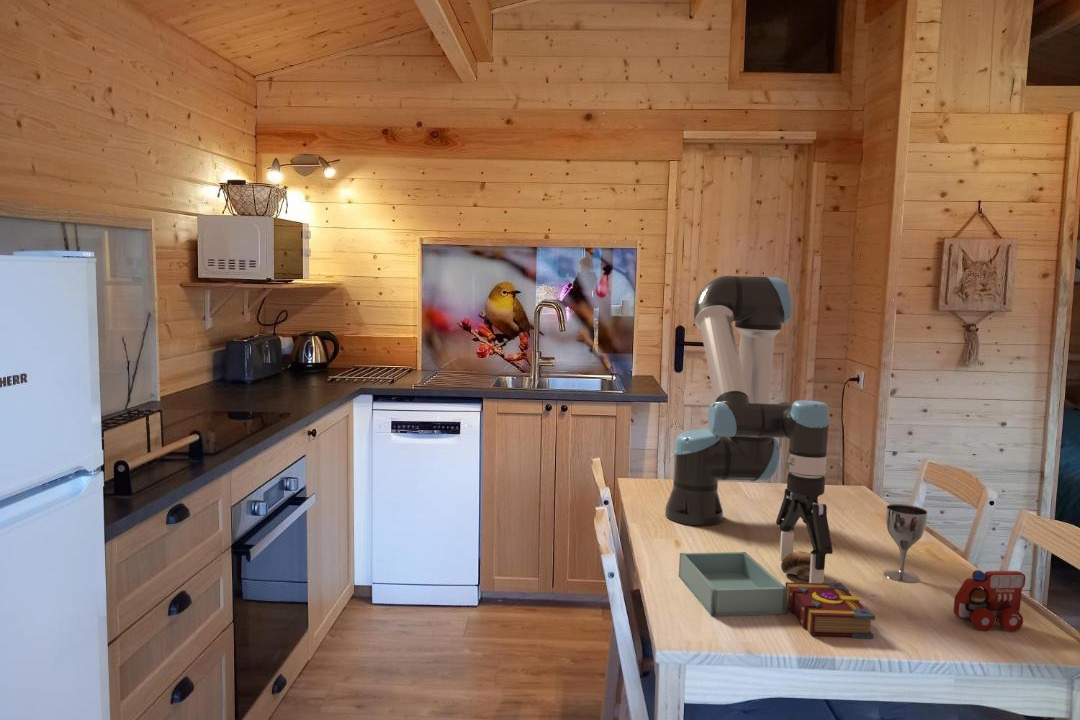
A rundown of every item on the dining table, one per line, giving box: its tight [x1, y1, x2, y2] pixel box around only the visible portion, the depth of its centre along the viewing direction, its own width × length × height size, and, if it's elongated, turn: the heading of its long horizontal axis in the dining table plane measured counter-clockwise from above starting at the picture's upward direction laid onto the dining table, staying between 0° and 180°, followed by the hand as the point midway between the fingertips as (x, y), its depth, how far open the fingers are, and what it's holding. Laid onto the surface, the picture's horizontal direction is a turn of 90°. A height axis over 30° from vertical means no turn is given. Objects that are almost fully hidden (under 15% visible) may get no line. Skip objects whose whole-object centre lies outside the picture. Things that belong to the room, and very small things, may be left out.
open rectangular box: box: [678, 551, 788, 617], centre depth 150 cm, size 20×15×5 cm
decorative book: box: [784, 581, 876, 639], centre depth 140 cm, size 11×16×5 cm
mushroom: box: [780, 550, 811, 581], centre depth 160 cm, size 8×8×6 cm
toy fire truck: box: [953, 569, 1026, 632], centre depth 140 cm, size 7×12×10 cm, turn 91°
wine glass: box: [883, 503, 928, 584], centre depth 162 cm, size 8×8×15 cm
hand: (800, 571), depth 160 cm, fingers open, 13 cm apart
